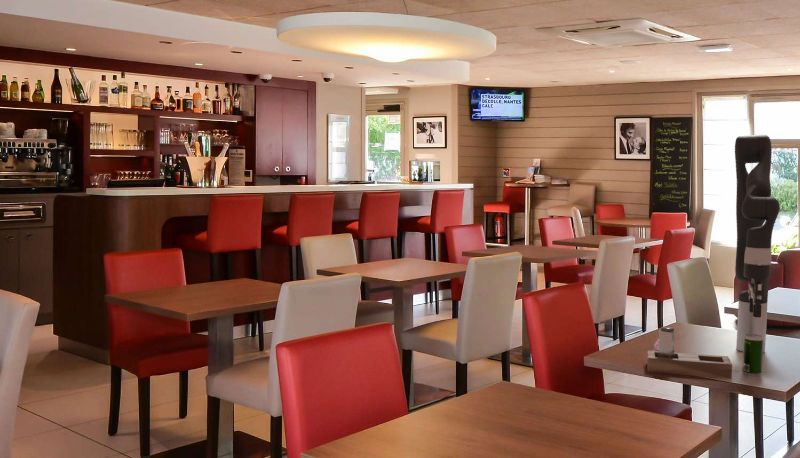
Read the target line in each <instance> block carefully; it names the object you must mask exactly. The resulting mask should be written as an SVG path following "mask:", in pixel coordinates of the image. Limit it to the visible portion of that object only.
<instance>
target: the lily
mask: <svg viewBox="0 0 800 458" xmlns="http://www.w3.org/2000/svg"><path fill="white" fill-rule="evenodd" d="M653 344H654V348H653V350H652V351H659V338H658V339H657V340H655V341H654V342H653Z"/></svg>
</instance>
